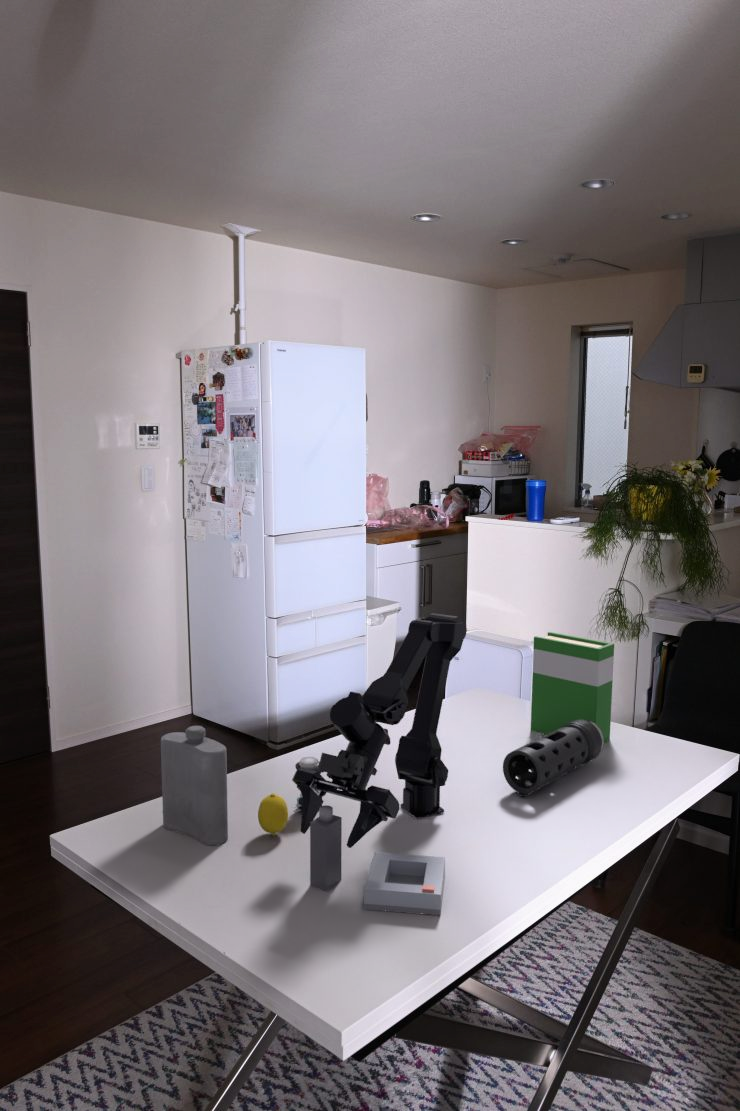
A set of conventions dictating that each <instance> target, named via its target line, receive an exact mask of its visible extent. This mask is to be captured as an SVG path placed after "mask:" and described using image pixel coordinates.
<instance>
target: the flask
mask: <svg viewBox="0 0 740 1111" xmlns="http://www.w3.org/2000/svg"><path fill="white" fill-rule="evenodd" d="M160 755H161V757H160V759H161V760H160V761H161V763H160V765H161V791H162V795H161V796H162V797H161V798H162V822H163V823H162V824H163V828H165V829H166V830H169V831H172V830H173V832H178V833H180V832H181V834H184V835H186V834H187V836H188V837H191V836H192V838H194V839H196V840H197V841H199V842H201V843H202V844H204V845H206V846H213V847H214V846H219V845H222V844H224V843H225V842H226V841H228V839H229V822H228V821H229V820H228V817H229V816H228V814H229V813H228V810H229V809H228V765H227V762H228V760H227V747H226V746H225V745H224V744H223V743H220V742H219V741H217V740H215V739H213V738H212V739H211V738H209V737H206V728H204V726H202V725H192V726H191V725H190V726H189V727H187V728H186V729H185V732H183V731H182V732H181V731H180V732H179V731H178V732H177V731H176V732H170V733H166V734H164V735H162V736H161V738H160Z"/></svg>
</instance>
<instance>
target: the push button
mask: <svg viewBox="0 0 740 1111" xmlns="http://www.w3.org/2000/svg"><path fill="white" fill-rule="evenodd" d="M319 763H320V760H319V759H318V758H317V757H314V756H306V757H301V758H300V759H299V761H298V762H297V763H295V769H296V771H297V770H298V769H300V768H302V767H303V768H307V769H310V770H314V771H318V767H319ZM319 773H320V774H321V775H322V772H319ZM321 799H322V800H323V797H321ZM296 802H297V803H296V804H295V805H292V806H291V808H293V810H292V812H293V813H297V812H300V813H302V808H303V798H302V793H301V792H300V794H299V796H298V797H297V798H296ZM295 808H296V809H295Z"/></svg>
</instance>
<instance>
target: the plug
mask: <svg viewBox="0 0 740 1111" xmlns="http://www.w3.org/2000/svg"><path fill="white" fill-rule="evenodd" d="M333 809H334V807H333V806H331V805H329V804H328V805H326V804H325V805H322V806H321V807H320V808H319V811H318V813H319V814H318V817H315V818H314V820H313V821H312V822H310V827H309V829H310V830H309V831H310V832H309V837H310V838H309V842H310V844H309V848H310V849H309V850H310V853H309V854H310V858H309V859H310V860H309V866H310V867H309V869H310V870H309V871H310V874H309V875H310V876H309V877H310V879H309V881H310V882H309V884H310V887H313V888H316V889H319V890H322V891H323V892H324V891H325V892H327V891H329V889H331V888H332V887H334V886H335V885H336V884H338V883H339V882H340V881H342V835H343V834H342V819H343V818H342V816H339V815H336V814H335V815H334V814H333V813H334V811H333Z"/></svg>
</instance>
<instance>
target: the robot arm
mask: <svg viewBox="0 0 740 1111" xmlns="http://www.w3.org/2000/svg"><path fill="white" fill-rule="evenodd" d="M407 629H408V632H407V633H406V635H405V638H404V639H403V641H402V643H401V644H400V646H399V648H398V649H397V651H396V653H395V655H394V657H393V659H392V660H391V661H390V662H391V663H390V664H389V666H388V668H387V669H386V671H385V673H384V674H383V675H382V676H380V677H379V678H377V679H375V680H374V681H372V682H371V683H370V685H369V686H368V687H367V689H366V690H365V691H364V693H363V694H361V693H360V692H354V691H349V693H348V696H346V697H343V698H341V699H339V700H337V702H336V703H335V704H333V705H332V706H331V709H330V712H329V719H330V721H331V723H332V724H333V726H334V727H335V728H336V729H337V730H338V731H339V733H340V734H341V735H342V737H343V738H345V739H346V740H347V741H349V742H348V744H347V746H346V748H345V749H340V751H339V752H338V754H337V755H333V754H329V753H326V752H321V755H320V758H319V762H320V763H319V767H318V771H314V770H310V769H307V768H303V767H302V768H300V769H298V770H297V769H296V770H295V772H294V774H293V777H292V780H291V781H292V782H293V783H294V784H295V786H296V788H297V789H298V791H300V794H301V793H302V798H303V808H302V812H301V820H300V828H299V829H300V833H301V834H304V835H305V834H306V833H307V831H308V830H309V829H310V822H312V821H313V820H315V819H316V816H317V815H318V813H319V808H320V807H321V806H323V803H324V800H323V797H324V796H326V795H327V794H332V795H334V796H338V797H343V798H346V799H349V800H353V801H357V802H359V804H360V805H359V813H358V815H357V818H356V820H355V822H354V824H353V826H352V829H351V831H350V834H349V836H348V839H347V842H346V846H347V848H349V849H352V848H353V847H354V845H356V844H357V843H358V842H359V841H360V840H361V839H362V838H364V836H366V834H367V833H369V832H370V831H372V830H373V829H374V828H375V827H376V826H378V825H379V824H380V823H381V822H388V820H389V819H393V820H394V819H396V818H397V817H398V813H399V811H400V807H401V808H402V809H403V810H404V811H406V812H407V813H409V815H411V816H412V817H414V818H415V819H421V818H425V817H426V818H427V817H430V816H433V815H438V814H443V813H444V812H445V808H443V807H441V806H440V804H441V803H440V799H441V797H440V796H441V787H445V786H446V782H447V780H448V777H449V769H448V768H447V766H446V765H445V763H444V761H442V759H441V758H442V747H441V744H440V741H439V740H440V739H439V738H438V735H437V732H438V725H439V722H440V717H441V716H440V715H441V712H442V711H441V710H442V706H443V701H444V696H445V689H446V687H447V686H446V685H447V680H448V679H447V678H448V676H449V675H448V674H449V669H450V664H451V661H453V659H454V658H455V657H456V655H457V654H458V653H459V652H461V650H462V646H463V644H464V643H463V642H464V640H465V639H466V635H467V624H466V623H465V622H464V621H463V618H461V616H458V615H457V616H455V615H447V614H442V613H434V612H433V613H429V614H428V616H426V617H419V618H417V619H413V620H411V621H410V623H409V625H408V628H407ZM424 659H425V660H424ZM423 661H424V666H423V669H422V670H423V671H422V676H421V680H420V684H419V691H418V697H417V699H416V700H417V701H416V706H415V711H414V716H413V721H412V727H411V729H410V730H409V731H408V732H407V733H406V735H401V736H400V737H399V740H398V746H397V751H396V754H395V758H394V764H395V768H396V773H397V778H398V780H404V788H402V789H403V790H402V803H399V800H398V799H397V797H395V795H394V794H393V793H392V791H391V790H390V789H388V788H384V787H379V786H376V785H373V784H372V785H369V787H367V786H368V783H369V781H370V779H371V777H372V776H376V774H377V772H378V770H377V768H376V765H377V762H378V760H379V757H380V755H381V753H382V750H383V748H384V746H385V745H387V746H389V745H390V744H391V737H390V735H389V730H388V728H383V726H382V725H381V724H385V725H390V726H394V725H398V724H400V722H401V721H402V720H403V719H404V716H405V714H406V710H407V707H408V705H409V697H408V695H409V694H408V690H409V687H410V685H411V684H412V681H413V680H414V678H415V677H416V674H417V673H418V670H419V668H420V666H421V665H422V663H423ZM379 723H380V724H379ZM319 772H321V774H320V773H319ZM322 773H326V776H327V778H328V779H331V781H330V780H326V779H325V778H324V777H323V776H322ZM321 797H322V799H321Z"/></svg>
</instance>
